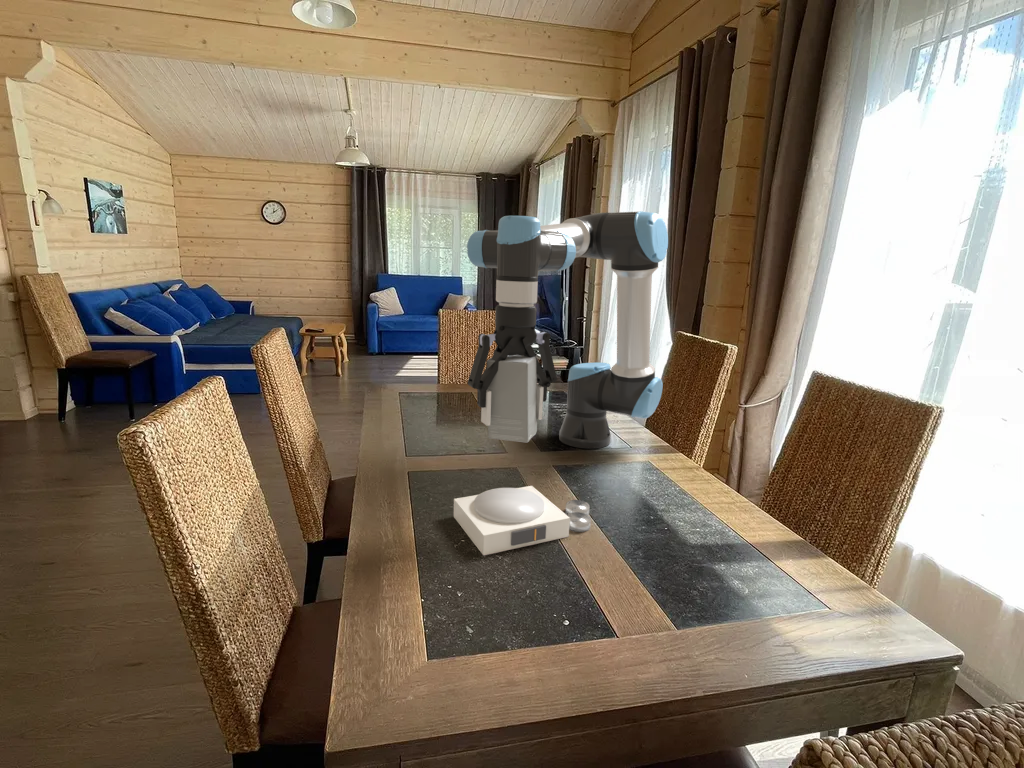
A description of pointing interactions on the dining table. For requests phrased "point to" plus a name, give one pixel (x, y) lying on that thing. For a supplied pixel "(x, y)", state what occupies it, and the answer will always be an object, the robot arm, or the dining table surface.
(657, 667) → the dining table surface
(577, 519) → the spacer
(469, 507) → the scale
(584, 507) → the spacer
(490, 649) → the dining table surface
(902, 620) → the dining table surface
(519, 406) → the skincare box
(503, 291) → the robot arm
